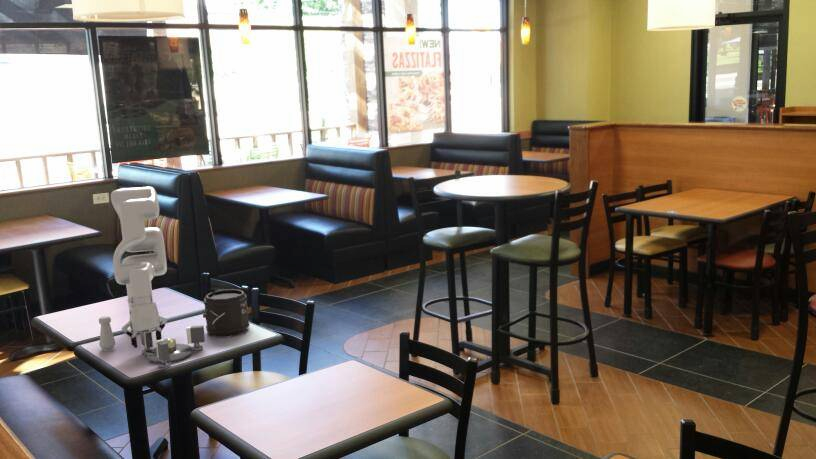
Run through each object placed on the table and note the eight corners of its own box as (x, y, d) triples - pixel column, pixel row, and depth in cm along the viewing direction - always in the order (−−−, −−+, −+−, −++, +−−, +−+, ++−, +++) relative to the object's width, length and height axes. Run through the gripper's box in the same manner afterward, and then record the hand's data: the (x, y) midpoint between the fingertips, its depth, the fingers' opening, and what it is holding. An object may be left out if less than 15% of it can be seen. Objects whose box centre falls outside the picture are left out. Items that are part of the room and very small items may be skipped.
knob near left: (204, 346, 280) (202, 327, 279) (188, 347, 280) (186, 328, 278) (205, 344, 283) (203, 325, 281) (189, 345, 282) (187, 326, 281)
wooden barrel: (203, 327, 308) (200, 291, 306) (247, 322, 314) (244, 286, 311) (205, 340, 292) (202, 302, 289) (251, 334, 297) (248, 296, 294)
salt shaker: (110, 352, 283) (106, 319, 280) (96, 351, 284) (93, 319, 281) (119, 346, 288) (115, 315, 286) (106, 346, 289) (102, 314, 287)
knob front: (163, 365, 262) (161, 344, 260) (157, 361, 266) (155, 340, 265) (170, 364, 263) (168, 343, 262) (164, 359, 268) (162, 339, 266)
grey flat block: (148, 347, 282) (146, 327, 281) (153, 351, 277) (151, 331, 276) (141, 348, 281) (139, 329, 279) (146, 352, 276) (144, 333, 275)
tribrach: (143, 351, 282) (141, 334, 281) (204, 346, 284) (202, 330, 283) (130, 370, 262) (128, 353, 260) (195, 365, 264) (193, 348, 263)
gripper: (121, 306, 267) (126, 352, 271) (168, 297, 278) (173, 341, 281) (115, 302, 273) (120, 347, 276) (161, 293, 284) (166, 336, 287)
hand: (147, 344), depth 279 cm, fingers open, 8 cm apart
